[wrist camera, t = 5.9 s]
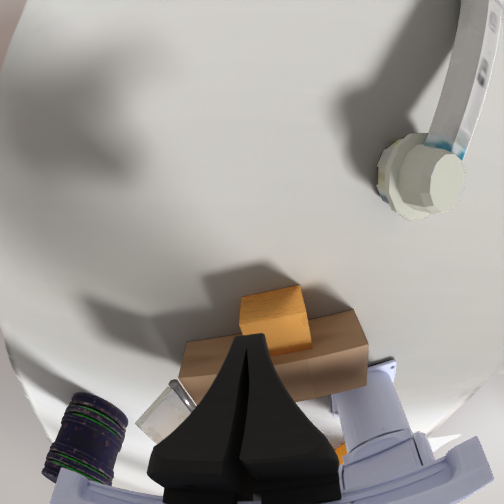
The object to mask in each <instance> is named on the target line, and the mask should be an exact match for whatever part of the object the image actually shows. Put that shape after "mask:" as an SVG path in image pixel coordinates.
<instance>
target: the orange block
mask: <svg viewBox="0 0 504 504" xmlns="http://www.w3.org/2000/svg"><path fill="white" fill-rule="evenodd" d="M239 326H240V329H241V331H242V334H243V335H250V334H257V333H263V334H265V337H266V341H267V346H268V350H269V354H270V357H272V356H278V355H283V354H288V353H294V352H298V351H303V350H308V349H313V347H312V341H311V335H310V330H309V324H308V318H307V313H306V308H305V304H304V300H303V296H302V292H301V287H300V285H296V286H292V287H287V288H282V289H278V290H273V291H268V292H263V293H259V294H254V295H249V296H244V297H241V305H240V321H239Z"/></svg>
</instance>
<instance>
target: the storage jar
mask: <svg viewBox="0 0 504 504" xmlns="http://www.w3.org/2000/svg"><path fill="white" fill-rule="evenodd" d="M61 424H62V426H61V428H60V430H59V433H58V435H57V438H56V440H55V442H54V443H52V445H51V447H50V450H49V451H50V452H48V454H47V457H46V462H45V467H44V468H43V470H42V474H43V475H44V476H45V477H46V478H48V479H49V480H51V481H52V482H54V483H56V482H57V478H58V475H59V472H60V469H61V468H65V469H68V470H71V471H74V472H76V473H79V474H81V475H83V476H84V477H86V478H87V479H88V480H90V481H94V482H97V483H101V484H105V485H108V486H112V482H111V481H112V479H113V478H114V476H113V475H114V472H113V468H114V465H115V461H116V457H117V454H118V452H120V450H121V447H122V443H123V441H124V438H125V432H126V429H125V428H126V427H127V425H128V419H127V417H126V415H125V414H124V413H123V412H122V411H121V410H120V409H118V408H117V407H116V406H114V405H113V404H111V403H109V402H108V401H106V400H104V399H102V398H100V397H97V396H95V395H92V394H88V393H82V392H80V393H75V394H74V395H73V397H72V402H70V404H69V406H68V407H67V409H66V411H65V413H64V416H63V418H62V421H61Z"/></svg>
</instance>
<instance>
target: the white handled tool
mask: <svg viewBox="0 0 504 504" xmlns="http://www.w3.org/2000/svg"><path fill="white" fill-rule="evenodd" d="M460 2H461V8H460V15H459V21H458V26H457V32H456V37H455V42H454V46H453V51H452V55H451V59H450V63H449V67H448V71H447V75H446V79H445V82H444V86H443V89H442V93H441V96H440V100H439V103H438V106H437V109H436V112H435V115H434V118H433V121H432V124H431V127H430V130H429V133H411V134H408V135H407V136H406V137H405V138H403V139H397V141H396V142H394V143H393V144H392V145H391V146H390V147H388V148H387V149H384V150H383V153H382V155H381V157H380V160H379V162H378V164H377V167H378V168H379V169H378V184H377V185H376V186H377V189H378V191H379V193H380V196H381V198H382V200H383V201H385V202H386V203H388V204H389V205H390V206H391V209H392V210H393V211H394V212H396V213H397V214H399V215H401V216H402V217H404V218H405V219H407V220H409V221H413V220H418V219H423V218H427V217H428V216H429V215H430V214H438V213H443V212H447V211H449V210H451V209H452V208H453V207H454V206H455V205H456V204H457V203H458V202H459V201H460V199H461V196H462V194H463V191H464V189H465V178H466V173H465V169H464V166H463V159H464V157H465V154H466V152H467V149H468V147H469V144H470V141H471V139H472V136H473V133H474V131H475V128H476V125H477V122H478V119H479V116H480V113H481V110H482V106H483V103H484V100H485V96H486V93H487V89H488V86H489V82H490V78H491V74H492V70H493V65H494V61H495V56H496V51H497V46H498V40H499V34H500V27H501V23H502V22H504V5H503V4H502V0H460Z"/></svg>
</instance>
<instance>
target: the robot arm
mask: <svg viewBox="0 0 504 504" xmlns="http://www.w3.org/2000/svg"><path fill="white" fill-rule="evenodd" d="M396 365H397V362H396V360H390V361H387V362H384V363H381V364H377V365H374V366H371V367H368V370H367V385H366V386H363V387H360V388H356V389H352V390H348V391H345V392H340V393H336V394H332V395H331V399H332V411H333V417H340V422H341V426H342V431H343V435H344V440H345V445H346V450H347V455H344V456H343V462H344V464H341V465H340V466H339V464H340V463H339V459H338V456H337V454H336V452H335V450H334V449H333V447H332V446H331V444H330V443H329V441H328V440H327V438H326V437H325V435H323V434H322V433H321V432H320V431H319V430H318V429H317V428H316V427H315V426H314V425H313V423H312V422H311V421H310V420H309V419H308V418H307V417H306V416H305V414H304V413H303V412H302V411H301V409H300V408H299V407H298V406H297V404H296V403H295V401H294V400H293V399H292V397H291V396H290V394H289V393H288V391H287V390H286V388H285V386H284V385H283V383H282V381H281V379H280V378H279V376H278V374H277V372H276V370H275V368H274V366H273V363H272V361H271V358H270V354H269V350H268V346H267V341H266V337H265V334H263V333H257V334H250V335H243V336H235V338H234V339H233V342H232V344H231V347H230V349H229V352H228V354H227V356H226V359H225V361H224V363H223V365H222V367H221V369H220V371H219V373H218V374H217V376H216V378H215V380H214V381H213V383H212V385H211V386H210V388H209V390H208V391H207V393H206V394H205V396H204V397H203V398H202V400H201V401H200V402H199V404H198V405H197V406H196V407H195V409H194V410H193V411H192V412H191V414H190V415H189V416H188V417H187V418H186V419H185V420H184V421H183V422H182V423H181V424H180V425H179V426H178V427H177V428H176V429H175V430H174V431H173V432H172V433H171V434H170V435H168V436H167V437H166V438H165V439H163V440H162V441H161V442H160V443H158V444H157V445H156V446H154V448H153V451H152V453H151V456H150V460H149V465H148V470H147V475H148V476H149V477H150V478H151V479H152V480H153V481H155V482H156V483H158V484H159V485H161V486H163V487H164V494H163V496H157V495H150V494H145V493H139V492H134V491H129V490H125V489H120V488H116V487H112V486H108V485H105V484H101V483H97V482H94V481H90V480H88V479H87V478H86V477H84V476H83V475H81V474H79V473H76V472H74V471H71V470H68V469H65V468H61V469H60V472H59V475H58V478H57V482H56V485H55V488H54V491H53V494H52V498H51V501H50V504H455V503H457V502H459V501H461V500H463V499H465V498H467V497H468V496H470V495H472V494H473V493H475V492H477V491H478V490H480V489H481V488H483V487H484V486H486V485H487V484H489V483H490V482H492V481H493V480H494V477H493V474H492V471H491V469H490V466H489V463H488V461H487V458H486V456H485V454H484V451H483V449H482V446H481V444H480V441H479V439H478V437H477V436H475V437H473V438H471V439H469V440H467V441H465V442H463V443H461V444H459V445H457V446H455V447H454V448H453V449H451V450H450V451H448V453H447V454H446V456H444V457H442V458H440V459H437V460H435V458H434V455H433V452H432V449H431V447H430V444H429V442H428V439H427V437H426V435H425V433H422V432H421V433H420V431H418V432H416V433H414V434H413V432H412V431H411V429H410V426H409V423H408V421H407V418H406V415H405V413H404V410H403V407H402V405H401V402H400V400H399V397H398V395H397V392H396V389H395V387H394V385H393V382H394V376H395V371H396Z"/></svg>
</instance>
